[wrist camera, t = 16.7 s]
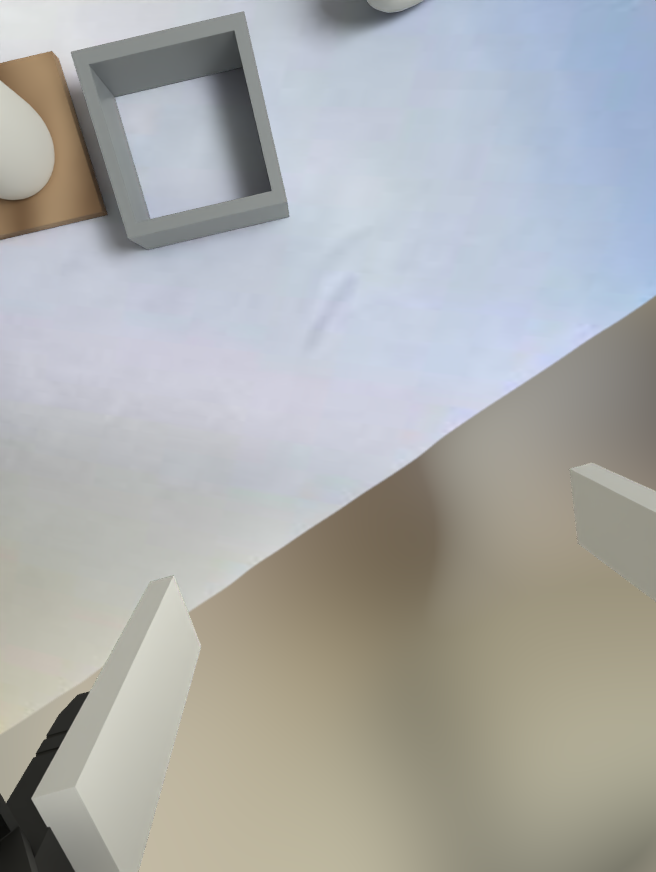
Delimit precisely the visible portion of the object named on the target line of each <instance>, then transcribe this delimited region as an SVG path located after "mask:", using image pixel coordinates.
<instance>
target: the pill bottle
mask: <svg viewBox="0 0 656 872" xmlns="http://www.w3.org/2000/svg"><path fill="white" fill-rule="evenodd" d="M54 160H55V153H54V145H53V141H52V138H51V135H50V133H49V130H48V128H47V126H46V125H45V123H44V121H43V120H42V118H41V117H40V116H39V115H38V113H37V112H36V111H35V110H34V109H33V108H32V107H31V106H30V105H29V104H28V103H27V102H26V101H25V100H23V99H22V98H21V97H20V96H19V95H17V94H16V93H15V92H14V91H13V90H11V89H10V88H9V87H8V86H6V85H5V84H4V83H3V82H2V81H0V198H1V199H7V200H20V199H25V198H28V197H31V196H33V195H35V194H36V193H38V192H39V191H40V190H41V189H42V188H43V187H44V186H45V185H46V184H47V182H48V181H49V179H50V177H51V174H52V171H53V168H54Z"/></svg>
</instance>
